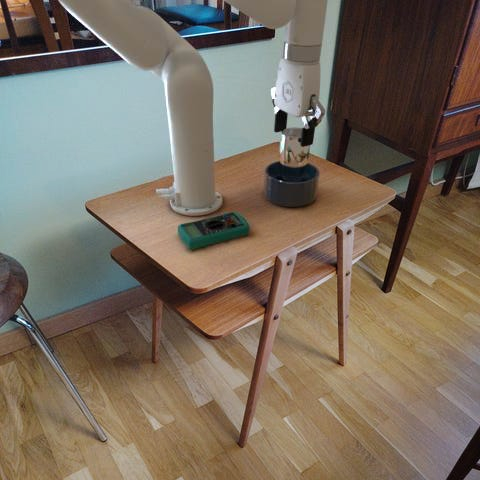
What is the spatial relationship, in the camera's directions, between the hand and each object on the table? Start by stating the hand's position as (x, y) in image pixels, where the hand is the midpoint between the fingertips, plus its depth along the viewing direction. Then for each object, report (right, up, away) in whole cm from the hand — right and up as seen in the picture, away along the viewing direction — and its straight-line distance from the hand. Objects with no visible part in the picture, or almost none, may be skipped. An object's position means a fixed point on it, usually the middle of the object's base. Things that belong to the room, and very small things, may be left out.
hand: (292, 138), depth 102 cm
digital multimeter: (-18, -23, -4) cm, 29 cm away
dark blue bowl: (0, -11, +10) cm, 14 cm away
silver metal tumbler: (+1, -10, +10) cm, 14 cm away
